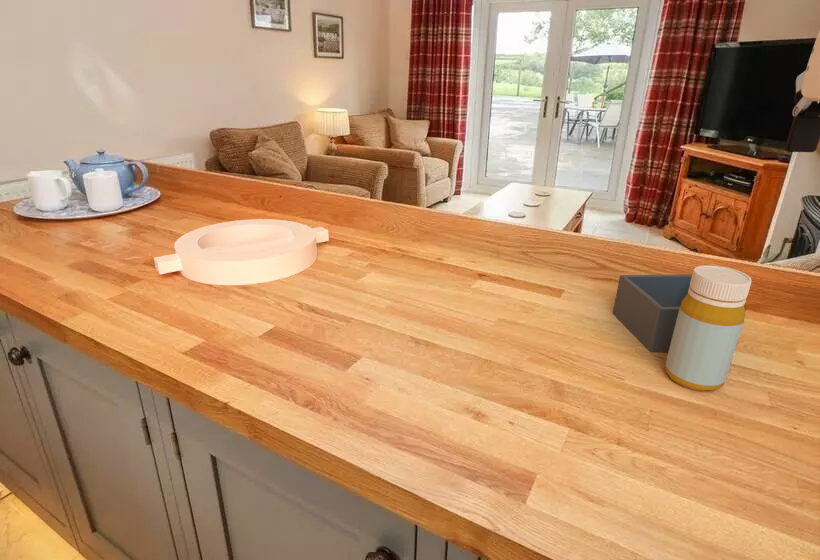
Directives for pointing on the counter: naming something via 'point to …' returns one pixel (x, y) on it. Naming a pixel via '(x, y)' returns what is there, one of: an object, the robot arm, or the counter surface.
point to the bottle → (708, 328)
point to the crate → (651, 306)
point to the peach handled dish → (244, 252)
